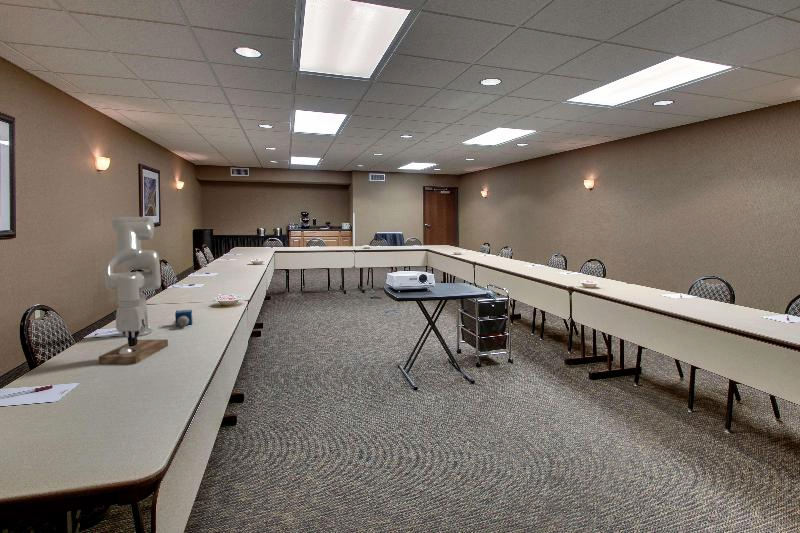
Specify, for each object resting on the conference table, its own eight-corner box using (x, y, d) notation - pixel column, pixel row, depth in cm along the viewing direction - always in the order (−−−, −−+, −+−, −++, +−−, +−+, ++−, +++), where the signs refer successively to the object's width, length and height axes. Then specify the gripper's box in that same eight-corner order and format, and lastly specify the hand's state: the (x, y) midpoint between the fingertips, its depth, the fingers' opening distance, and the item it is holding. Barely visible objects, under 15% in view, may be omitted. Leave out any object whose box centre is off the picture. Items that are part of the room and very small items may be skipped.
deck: (99, 363, 173) (98, 356, 172) (135, 346, 197) (135, 339, 196) (136, 363, 173) (135, 356, 172) (168, 345, 197) (167, 339, 196)
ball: (115, 360, 176) (116, 348, 175) (124, 356, 181) (124, 345, 180) (127, 361, 175) (127, 350, 175) (135, 358, 180) (135, 346, 180)
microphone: (192, 305, 249) (190, 314, 227) (193, 318, 250) (191, 328, 228) (178, 306, 246) (173, 315, 224) (178, 319, 247) (175, 330, 225)
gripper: (105, 306, 177) (109, 348, 179) (141, 305, 177) (145, 348, 179) (117, 302, 184) (121, 343, 187) (152, 302, 184) (155, 343, 187)
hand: (132, 345), depth 183 cm, fingers closed
